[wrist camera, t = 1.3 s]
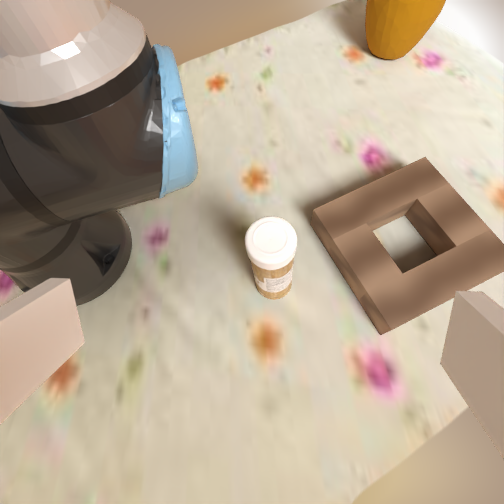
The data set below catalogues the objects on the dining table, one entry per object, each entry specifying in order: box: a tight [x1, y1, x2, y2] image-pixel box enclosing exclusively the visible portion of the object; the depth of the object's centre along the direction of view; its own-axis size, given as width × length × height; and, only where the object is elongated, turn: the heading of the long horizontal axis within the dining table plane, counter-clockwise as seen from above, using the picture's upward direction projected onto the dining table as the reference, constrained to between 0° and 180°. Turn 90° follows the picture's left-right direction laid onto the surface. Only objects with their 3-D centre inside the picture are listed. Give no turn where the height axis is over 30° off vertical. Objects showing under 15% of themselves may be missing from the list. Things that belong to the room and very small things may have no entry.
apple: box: [365, 0, 446, 59], centre depth 47 cm, size 11×11×13 cm
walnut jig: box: [311, 157, 504, 335], centre depth 37 cm, size 16×16×4 cm
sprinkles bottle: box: [245, 216, 297, 300], centre depth 33 cm, size 5×5×13 cm
